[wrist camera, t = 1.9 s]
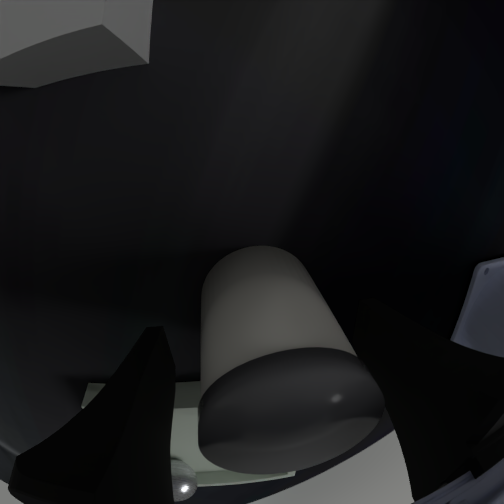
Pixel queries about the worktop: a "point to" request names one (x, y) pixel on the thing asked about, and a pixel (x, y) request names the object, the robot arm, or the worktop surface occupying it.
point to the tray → (193, 438)
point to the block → (70, 38)
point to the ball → (183, 480)
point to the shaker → (277, 369)
